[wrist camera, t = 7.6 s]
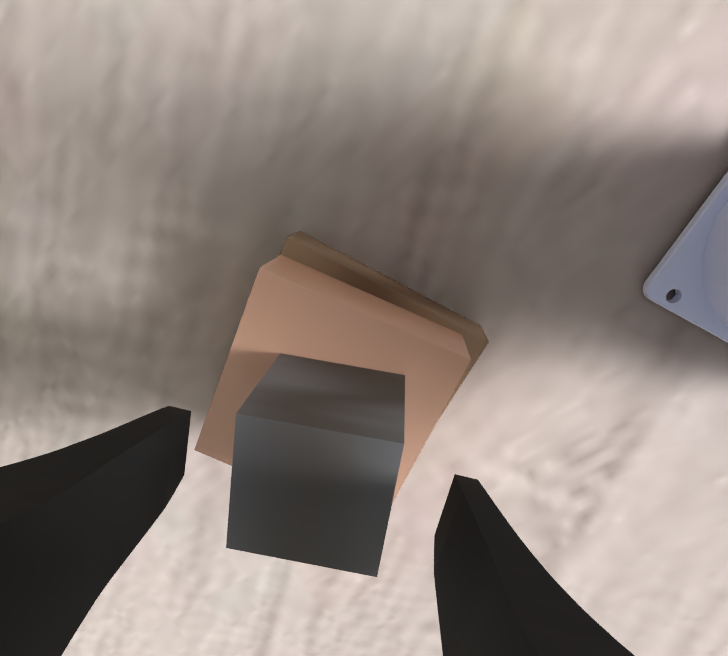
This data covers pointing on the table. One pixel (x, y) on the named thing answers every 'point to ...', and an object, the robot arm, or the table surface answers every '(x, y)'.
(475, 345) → the walnut slab
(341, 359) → the terracotta slab
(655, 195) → the table surface
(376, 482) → the charcoal cube
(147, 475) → the robot arm
